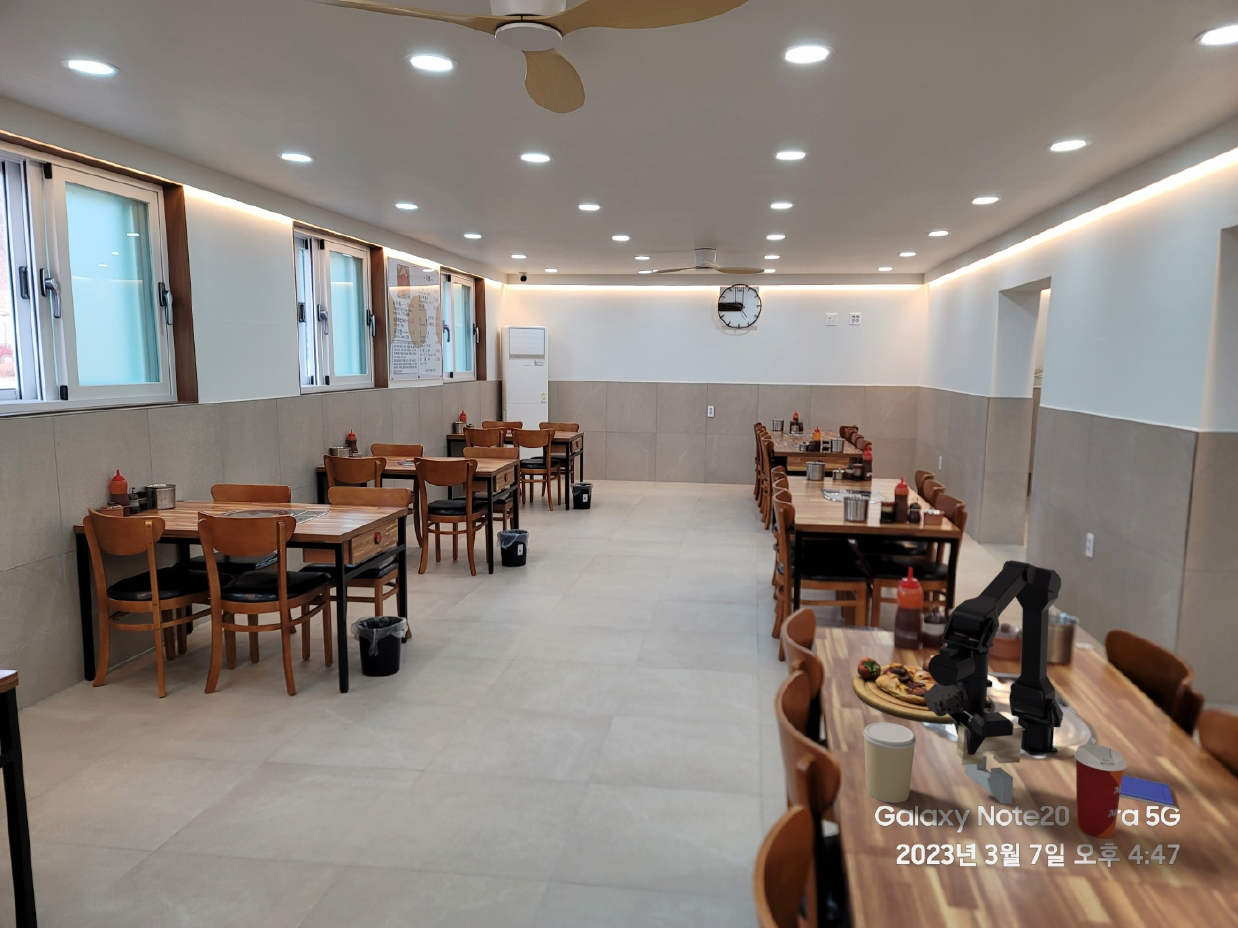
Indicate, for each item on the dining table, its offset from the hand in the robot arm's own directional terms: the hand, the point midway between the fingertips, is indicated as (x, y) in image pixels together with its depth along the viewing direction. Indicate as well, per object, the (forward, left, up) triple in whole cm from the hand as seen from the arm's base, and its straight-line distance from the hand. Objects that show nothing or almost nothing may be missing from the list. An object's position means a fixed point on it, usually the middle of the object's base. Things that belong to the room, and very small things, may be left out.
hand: (967, 751), depth 151 cm
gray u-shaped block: (-4, 0, -7) cm, 9 cm away
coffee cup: (+16, -1, -8) cm, 17 cm away
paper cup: (-14, +16, -8) cm, 23 cm away
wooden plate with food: (-14, -44, -8) cm, 47 cm away
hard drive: (-31, +5, -8) cm, 33 cm away
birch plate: (-4, 0, -2) cm, 5 cm away
